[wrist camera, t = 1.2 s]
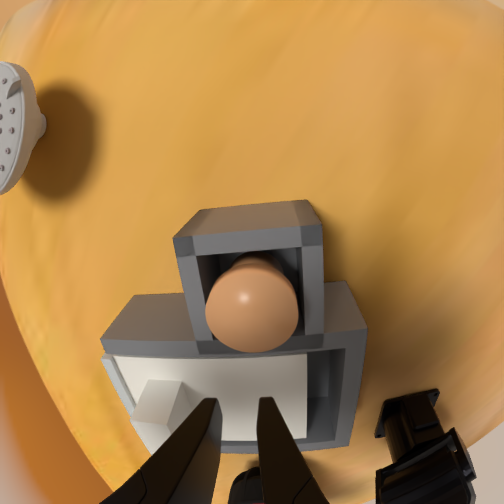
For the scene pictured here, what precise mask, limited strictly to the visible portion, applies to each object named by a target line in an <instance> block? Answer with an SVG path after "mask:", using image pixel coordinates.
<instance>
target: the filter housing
mask: <svg viewBox="0 0 504 504" xmlns="http://www.w3.org/2000/svg"><path fill="white" fill-rule="evenodd" d="M173 243H174V248H175V253H176V258H177V263H178V268H179V272H180V277H181V281H182V286H183V290H184V293H172V294H150V295H134V296H133V297H132V298H131V300H130V301H129V302H128V303H127V305H126V306H125V307H124V309H123V310H122V311H121V312H120V314H119V315H118V316H117V317H116V319H115V320H114V321H113V323H112V324H111V325H110V326H109V328H108V329H107V330H106V332H105V333H104V334H103V336H102V337H101V338H100V340H101V343H102V345H103V347H104V350H105V352H106V354H116V355H133V356H156V357H235V356H259V355H276V354H290V353H302V352H307V432H306V438H300V439H294V440H295V442H296V444H297V446H298V448H299V450H300V452H301V451H312V450H322V449H330V448H338V447H345V446H349V442H350V437H351V432H352V428H353V423H354V418H355V413H356V408H357V402H358V397H359V391H360V385H361V378H362V372H363V365H364V358H365V350H366V342H367V333H368V327H367V325H366V323H365V320H364V318H363V316H362V314H361V312H360V310H359V308H358V305H357V303H356V301H355V299H354V297H353V295H352V293H351V291H350V289H349V287H348V285H347V283H346V281H338V282H327V283H324V271H323V237H322V224H321V222H320V220H319V219H318V217H317V215H316V214H315V212H314V210H313V209H312V207H311V205H310V204H309V202H308V200H296V201H283V202H272V203H261V204H251V205H240V206H231V207H221V208H212V209H203V210H199V211H198V212H197V213H196V214H195V215H194V216H193V217H192V218H191V219H190V220H189V221H188V222H187V223H186V224H185V225H184V227H183V228H182V229H181V230H180V231H179V232H178V233H177V234H176V235H175V236H174V237H173ZM249 251H262V252H265V253H268V254H270V255H272V256H273V257H275V258H276V259H277V260H278V261H279V263H280V264H281V266H282V268H283V272H284V276H285V277H286V278H287V279H288V280H289V281H290V283H291V284H292V286H293V288H294V290H295V294H296V299H297V306H298V322H297V326H296V328H295V330H294V332H293V334H292V335H291V336H290V338H289V339H288V340H287V341H286V342H284V343H283V344H282V345H280V346H278V347H276V348H274V349H272V350H269V351H265V352H258V353H249V352H242V351H238V350H235V349H233V348H230V347H228V346H227V345H225V344H223V343H222V342H221V341H219V340H218V339H217V338H216V337H215V336H214V334H213V333H212V332H211V330H210V328H209V326H208V324H207V321H206V315H205V308H206V303H207V300H208V297H209V295H210V292H211V290H212V287H213V285H214V283H215V282H216V280H217V279H218V278H219V277H220V276H221V274H223V273H224V272H225V271H227V270H229V268H230V265H231V263H232V262H233V261H234V260H235V259H236V258H237V257H238V256H239V255H241V254H243V253H245V252H249ZM221 453H236V454H258V444H257V441H226V440H221Z"/></svg>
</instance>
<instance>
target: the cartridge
mask: <svg viewBox="0 0 504 504" xmlns="http://www.w3.org/2000/svg"><path fill="white" fill-rule="evenodd" d="M101 361H102V363H103V365H104V367H105V369H106V371H107V373H108V375H109V377H110V379H111V381H112V383H113V385H114V387H115V389H116V391H117V393H118V395H119V397H120V399H121V401H122V402H123V404H124V406H125V408H126V410H127V412H128V413H129V415H130V417H131V418H130V422H131V424H132V425H133V427H134V429H135V430H136V432H137V433H138V435H139V437H140V438H141V440H142V441H143V443H144V444H145V446H146V448H147V449H148V451H149V452H150V454H151V455H153V454H154V453H155V452H156V451H157V449H158V448H159V447H160V446H161V445H162V444H163V443H164V442H165V441H166V440H167V439H168V438H169V436H170V435H171V434H172V433H173V432H174V431H175V430H176V429H177V428H178V427H179V425H180V424H181V423H182V422H183V421H184V420H185V419H186V418H187V417H188V415H189V414H190V413H191V412H192V411H193V410H194V409H195V408H196V406H197V405H198V404H199V403H200V402H201V401H202V400H203V399H204V398H206V397H211V398H217V399H218V401H219V404H220V408H221V411H222V415H223V423H222V439H221V440H226V441H257V435H256V423H257V414H258V404H259V398H260V397H269V396H271V397H273V398H274V400H275V402H276V404H277V406H278V408H279V410H280V412H281V414H282V416H283V419H284V421H285V423H286V425H287V427H288V429H289V431H290V432H291V434H292V436H293V438H294V439H300V438H306V432H307V352H302V353H290V354H276V355H259V356H235V357H156V356H133V355H116V354H106V352H105V353H104V355H103V356H102V357H101Z"/></svg>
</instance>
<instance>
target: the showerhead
mask: <svg viewBox="0 0 504 504" xmlns="http://www.w3.org/2000/svg"><path fill="white" fill-rule="evenodd" d="M46 124H47V123H46V118H45V116H44V115H43V114H41V112H40V109H39V106H38V104H37V99H36V93H35V88H34V85H33V82H32V80H31V77H30V76H29V74H28V72H27V71H26V70H25V69H24V68H23V67H21V66H19V65H17V64H13V63H8V62H2V61H0V195H2V194H4V193H6V192H8V191H9V190H10V189H11V188H12V187H14V185H15V184H16V183H17V182H18V180H19V179H20V178H21V176H22V174H23V172H24V170H25V168H26V166H27V164H28V161H29V158H30V155H31V152H32V149H33V148H34V146H35V145H36V143H37V140H38V139H39V138H41V137H42V136H43V134H44V133H45V130H46Z"/></svg>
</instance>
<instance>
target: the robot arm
mask: <svg viewBox="0 0 504 504" xmlns="http://www.w3.org/2000/svg"><path fill="white" fill-rule="evenodd" d="M439 394H440V392H439V390H438V389H433V390H430V391H426V392H422V393H418V394H413V395H409V396H405V397H400V398H395V399H391V400H387V401H385V402H384V403H383V406H382V409H381V413H380V416H379V420H378V423H377V427H376V430H375V433H374V436H375V438H381V437H386V440H387V443H388V447H389V450H390V454H391V457H392V461H393V464H391V465H389V466H387V467H385V468H382V469H379V470H376V478H375V483H376V504H475V499H476V494H475V492H474V489H473V486H472V483H471V481H472V480H474V479H476V474H475V471H474V467H473V464H472V461H471V458H470V455H469V453H468V451H467V449H466V447H465V444H464V442H463V440H462V439H461V437H460V436H459V434H458V432H457V431H456V429H455V428H454V427H453V428H451V429H450V430H449V431H448V432H447V433H444V430H443V428H442V426H441V424H440V420H439V418H438V416H437V413H436V411H435V409H434V406H435V403H436V401H437V399H438V396H439ZM222 423H223V415H222V411H221V408H220V404H219V401H218V399H217V398H211V397H206V398H204V399H203V400H202V401H201V402H200V403H199V404H198V405H197V406H196V408H195V409H194V410H193V411H192V412H191V413H190V414H189V415H188V417H187V418H186V419H185V420H184V421H183V422H182V423H181V424H180V425H179V427H178V428H177V429H176V430H175V431H174V432H173V433H172V434H171V435H170V436H169V438H168V439H167V440H166V441H165V442H164V443H163V444H162V445H161V446H160V447H159V448H158V449H157V451H156V452H155V453H154V454H153V455H152V456H151V457H150V458H149V459H148V460H147V461H146V462H145V463H144V464H143V465H142V466H141V467H140V469H138V470H137V471H136V472H135V473H134V474H133V475H132V476H131V477H130V478H129V479H128V480H127V481H126V482H125V483H124V484H123V485H122V486H121V487H120V488H118V489H117V490H116V491H115V492H114V493H112V494H111V495H110V496H108V497H107V498H106V499H104V500H103V501H102V502H100V503H99V504H211V502H212V497H213V492H214V488H215V483H216V478H217V473H218V468H219V463H220V454H221V439H222ZM256 435H257V444H258V454H259V463H260V472H261V481H262V489H263V498H264V504H329V502H328V501H327V499H326V498H325V496H324V494H323V493H322V491H321V489H320V488H319V486H318V484H317V482H316V480H315V479H314V477H313V475H312V473H311V471H310V469H309V467H308V466H307V464H306V462H305V460H304V458H303V456H302V454H301V452H300V450H299V448H298V446H297V444H296V442H295V440H294V438H293V436H292V434H291V432H290V431H289V429H288V427H287V425H286V423H285V421H284V419H283V416H282V414H281V412H280V410H279V408H278V406H277V404H276V402H275V400H274V398H273V397H271V396H269V397H260V398H259V404H258V414H257V423H256ZM456 450H457V451H456ZM454 451H456V452H454Z"/></svg>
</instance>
